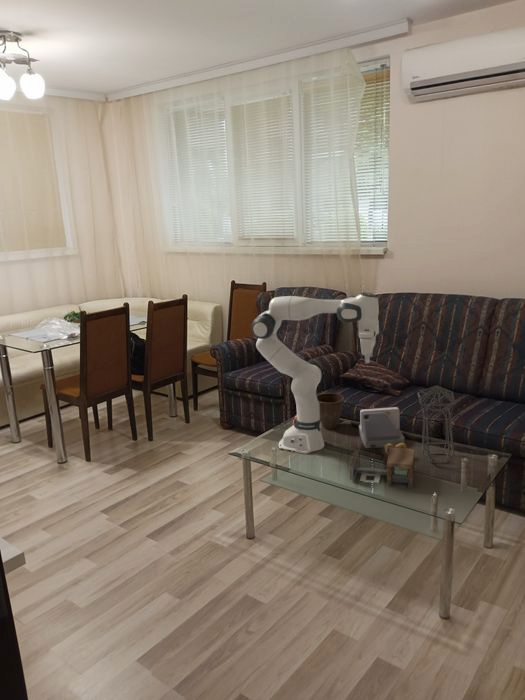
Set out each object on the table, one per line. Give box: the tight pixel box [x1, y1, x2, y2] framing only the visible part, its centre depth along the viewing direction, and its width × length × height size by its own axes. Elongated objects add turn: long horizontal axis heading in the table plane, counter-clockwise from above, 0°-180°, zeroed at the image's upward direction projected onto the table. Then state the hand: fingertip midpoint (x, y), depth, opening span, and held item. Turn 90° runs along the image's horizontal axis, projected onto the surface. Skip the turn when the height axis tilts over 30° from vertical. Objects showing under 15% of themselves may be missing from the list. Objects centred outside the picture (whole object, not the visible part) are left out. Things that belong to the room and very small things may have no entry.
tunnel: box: [386, 448, 415, 489], centre depth 237 cm, size 10×14×10 cm
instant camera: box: [358, 406, 405, 449], centre depth 275 cm, size 21×21×15 cm
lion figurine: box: [384, 442, 408, 457], centre depth 255 cm, size 15×5×9 cm, turn 127°
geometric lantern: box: [416, 384, 458, 464], centre depth 248 cm, size 16×16×35 cm
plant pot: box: [316, 392, 344, 430], centre depth 294 cm, size 15×15×16 cm
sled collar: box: [348, 450, 408, 484], centre depth 239 cm, size 25×14×8 cm, turn 72°
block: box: [394, 467, 408, 476], centre depth 237 cm, size 5×5×5 cm
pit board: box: [359, 467, 382, 484], centre depth 242 cm, size 8×12×1 cm, turn 162°
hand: (368, 359), depth 252 cm, fingers open, 8 cm apart
